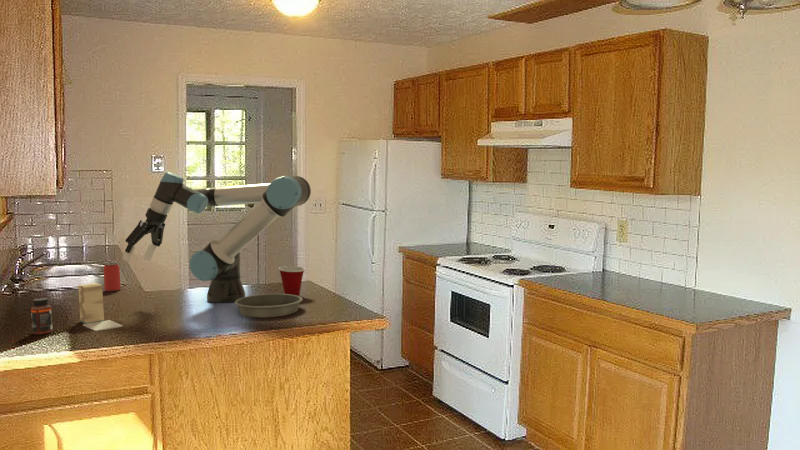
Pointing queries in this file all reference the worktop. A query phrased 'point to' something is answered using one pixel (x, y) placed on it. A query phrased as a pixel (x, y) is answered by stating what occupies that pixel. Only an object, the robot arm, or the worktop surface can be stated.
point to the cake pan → (257, 308)
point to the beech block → (91, 303)
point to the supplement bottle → (41, 317)
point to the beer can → (111, 277)
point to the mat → (102, 325)
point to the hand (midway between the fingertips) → (136, 259)
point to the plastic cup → (291, 279)
